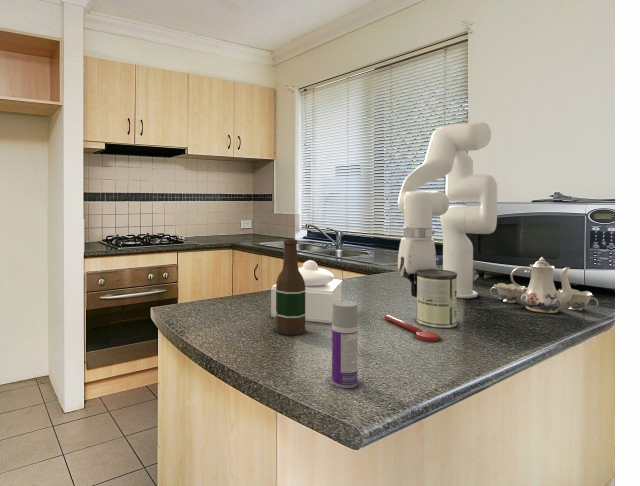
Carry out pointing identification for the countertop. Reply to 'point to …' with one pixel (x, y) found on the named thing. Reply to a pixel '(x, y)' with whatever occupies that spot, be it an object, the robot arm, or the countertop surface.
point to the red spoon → (414, 329)
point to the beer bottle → (290, 293)
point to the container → (344, 344)
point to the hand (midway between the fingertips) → (417, 296)
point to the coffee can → (436, 298)
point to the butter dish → (316, 293)
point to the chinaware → (544, 290)
